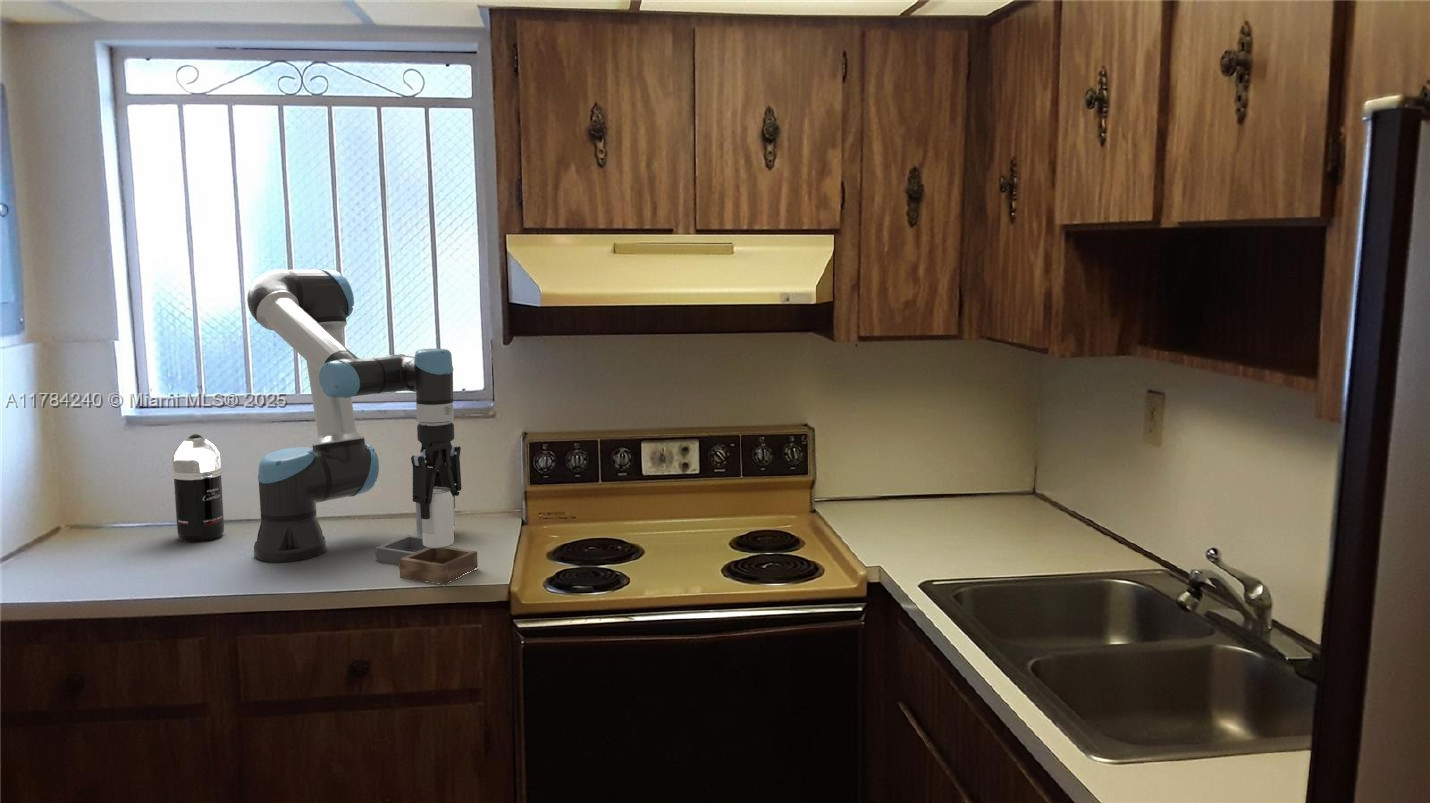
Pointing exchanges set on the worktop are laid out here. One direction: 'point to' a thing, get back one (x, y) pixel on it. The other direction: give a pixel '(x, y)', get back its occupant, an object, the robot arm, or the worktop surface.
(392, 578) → the worktop surface
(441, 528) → the can
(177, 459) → the spray bottle
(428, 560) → the brown open square box
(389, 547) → the grey square tray
